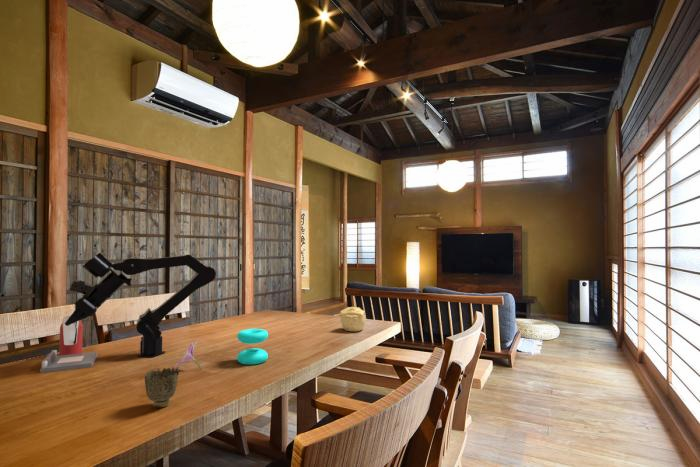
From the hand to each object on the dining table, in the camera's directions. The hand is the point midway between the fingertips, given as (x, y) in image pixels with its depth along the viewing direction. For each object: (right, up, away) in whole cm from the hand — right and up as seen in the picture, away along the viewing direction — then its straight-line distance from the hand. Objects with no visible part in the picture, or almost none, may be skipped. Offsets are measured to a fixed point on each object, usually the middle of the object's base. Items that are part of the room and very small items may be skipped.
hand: (67, 323), depth 127 cm
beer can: (-6, -14, +11) cm, 18 cm away
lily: (+41, -13, -6) cm, 44 cm away
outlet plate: (+1, -13, 0) cm, 13 cm away
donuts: (+59, -13, +3) cm, 61 cm away
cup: (+47, -12, -34) cm, 59 cm away
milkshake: (+1, -7, 0) cm, 7 cm away
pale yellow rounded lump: (+93, -15, +53) cm, 108 cm away
